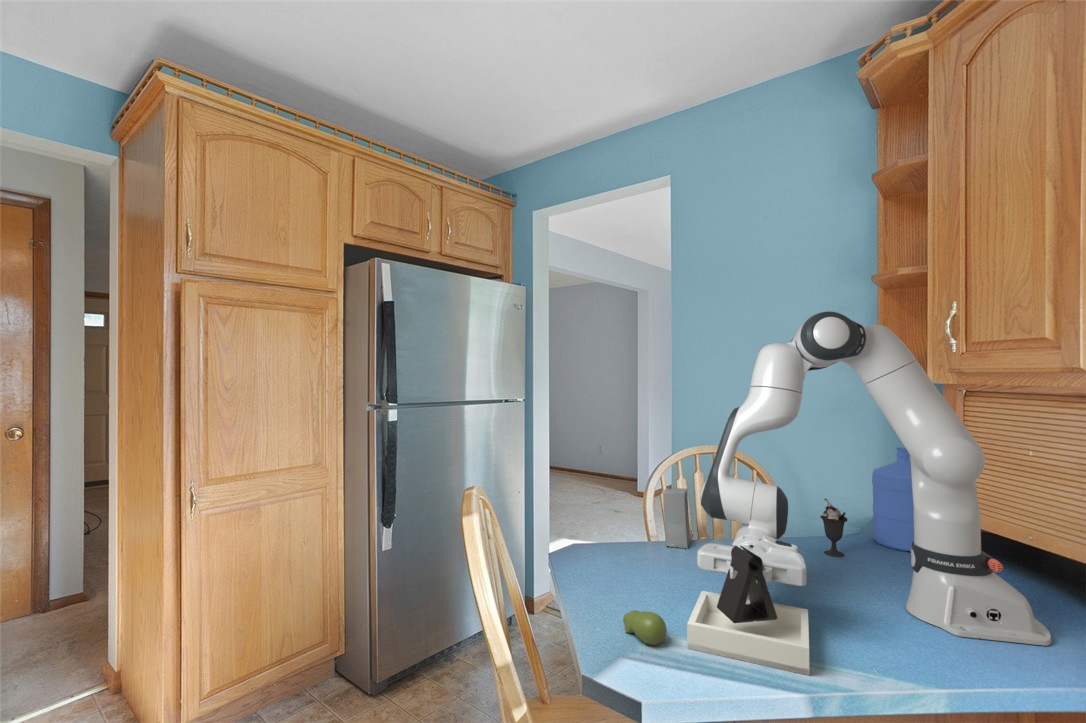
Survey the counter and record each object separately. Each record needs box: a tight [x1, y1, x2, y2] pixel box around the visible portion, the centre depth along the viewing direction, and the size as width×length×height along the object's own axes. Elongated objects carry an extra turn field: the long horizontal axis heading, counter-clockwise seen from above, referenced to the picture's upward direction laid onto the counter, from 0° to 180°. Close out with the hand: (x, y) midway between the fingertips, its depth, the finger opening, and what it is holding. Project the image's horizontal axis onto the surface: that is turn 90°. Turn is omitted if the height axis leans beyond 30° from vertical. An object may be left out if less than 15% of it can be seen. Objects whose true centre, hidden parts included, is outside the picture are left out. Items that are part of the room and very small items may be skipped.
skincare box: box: [662, 487, 691, 550], centre depth 155 cm, size 8×7×16 cm
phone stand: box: [717, 545, 777, 623], centre depth 100 cm, size 9×6×12 cm, turn 99°
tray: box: [686, 590, 811, 677], centre depth 99 cm, size 20×16×4 cm
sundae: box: [820, 498, 848, 558], centre depth 146 cm, size 7×7×15 cm
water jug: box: [871, 447, 914, 553], centre depth 154 cm, size 16×16×28 cm
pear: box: [622, 610, 668, 646], centre depth 101 cm, size 6×5×10 cm
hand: (746, 577), depth 99 cm, fingers closed on phone stand, 3 cm apart
